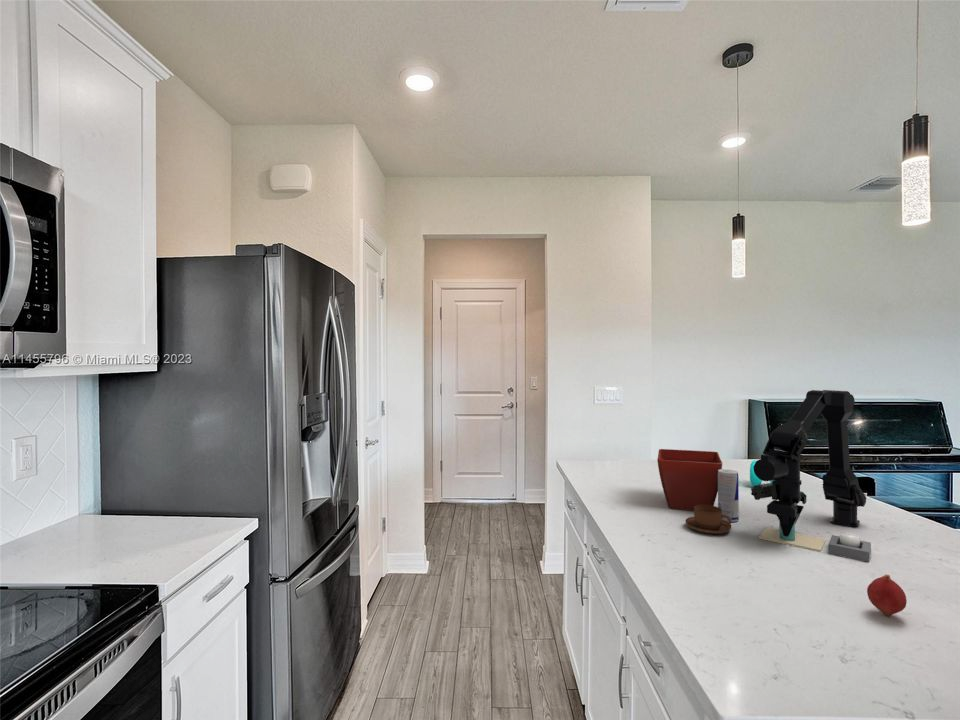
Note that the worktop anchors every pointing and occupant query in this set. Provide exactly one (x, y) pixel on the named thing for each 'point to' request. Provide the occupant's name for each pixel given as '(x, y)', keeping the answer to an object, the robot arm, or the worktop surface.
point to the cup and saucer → (709, 520)
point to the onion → (886, 595)
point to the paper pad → (799, 541)
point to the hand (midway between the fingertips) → (787, 534)
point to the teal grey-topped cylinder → (791, 535)
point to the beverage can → (728, 494)
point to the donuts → (753, 478)
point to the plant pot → (689, 477)
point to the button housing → (849, 549)
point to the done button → (850, 540)
